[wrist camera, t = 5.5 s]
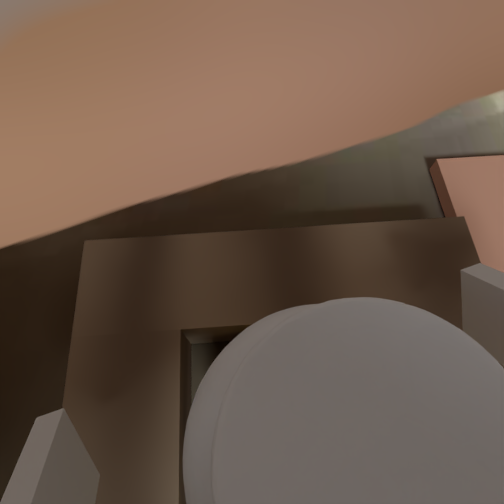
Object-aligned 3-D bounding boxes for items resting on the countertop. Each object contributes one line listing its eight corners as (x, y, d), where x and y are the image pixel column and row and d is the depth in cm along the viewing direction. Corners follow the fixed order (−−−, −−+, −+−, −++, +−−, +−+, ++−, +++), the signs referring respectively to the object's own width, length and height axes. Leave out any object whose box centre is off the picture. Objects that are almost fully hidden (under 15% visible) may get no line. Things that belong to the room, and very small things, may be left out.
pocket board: (56, 761, 12) (1, 855, 10) (107, 265, 20) (84, 240, 17) (581, 707, 13) (669, 781, 10) (436, 244, 21) (464, 216, 18)
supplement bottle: (399, 441, 16) (750, 473, 5) (297, 574, 15) (477, 1161, 3) (289, 333, 19) (350, 174, 7) (186, 436, 17) (34, 459, 5)
